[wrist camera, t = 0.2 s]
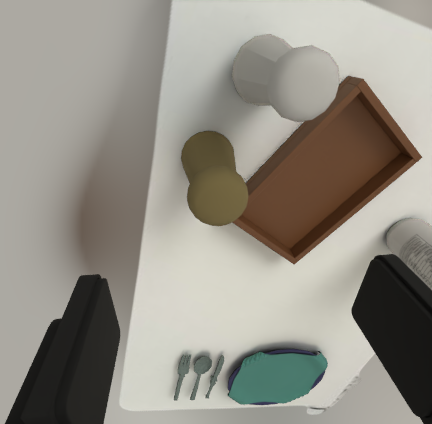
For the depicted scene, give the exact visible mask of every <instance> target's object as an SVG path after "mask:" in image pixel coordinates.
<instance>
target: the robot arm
mask: <svg viewBox="0 0 432 424" xmlns="http://www.w3.org/2000/svg"><path fill="white" fill-rule="evenodd" d="M352 316H353V318H354V320H355V321H356V323H357V324H358V326H359V328H360V329H361V331H362V332H363V334H364V336H365V337H366V339H367V340H368V342H369V344H370V345H371V347H372V348H373V350H374V352H375V353H376V355H377V356H378V358H379V359H380V361H381V362H382V364H383V366H384V367H385V369H386V371H387V372H388V374H389V375H390V377H391V379H392V380H393V382H394V383H395V385H396V386H397V388H398V390H399V391H400V393H401V395H402V396H403V398H404V399H405V401H406V402H407V404H408V406H409V407H410V409H411V410H412V412H413V413H414V414H415V415H416V416H418V417H420V418H421V420H422V422H423V423H424V424H432V290H431V289H430V288H429V287H428V286H427V285H426V284H425V283H424V282H423V281H422V280H421V279H420V278H419V277H418V276H417V275H416V274H415V273H414V272H413V271H412V270H411V269H410V268H409V267H408V266H407V265H406V264H405V263H404V262H403V261H402V260H401V259H400V258H399V257H398V256H396V255H394V254H389V255H377V256H376V257H375V258H374V260H372V261H371V262H370V264H369V267H368V269H367V272H366V274H365V277H364V279H363V282H362V284H361V287H360V289H359V292H358V294H357V297H356V299H355V302H354V304H353V306H352ZM119 341H120V328H119V324H118V320H117V316H116V313H115V309H114V305H113V301H112V297H111V294H110V290H109V286H108V282H107V279H105V278H103V279H102V278H101V276H100V275H99V274H97V275H83V276H80V277H79V279H78V281H77V284H76V286H75V288H74V291H73V293H72V295H71V298H70V301H69V302H68V305H67V307H66V310H65V312H64V315H63V317H62V319H56V320H53V322H51V324H50V326H49V327H48V329H47V332H46V334H45V336H44V338H43V341H42V343H41V345H40V347H39V349H38V352H37V354H36V356H35V358H34V360H33V363H32V365H31V367H30V369H29V371H28V374H27V376H26V378H25V380H24V383H23V385H22V387H21V389H20V392H19V394H18V396H17V398H16V400H15V403H14V405H13V407H12V409H11V411H10V414H9V416H8V418H7V420H6V423H5V424H103V423H104V418H105V413H106V407H107V402H108V396H109V392H110V387H111V382H112V377H113V371H114V367H115V361H116V356H117V351H118V346H119Z"/></svg>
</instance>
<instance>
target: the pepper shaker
mask: <svg viewBox="0 0 432 424" xmlns="http://www.w3.org/2000/svg"><path fill="white" fill-rule="evenodd" d="M181 160H182V164H183V168H184V170H185V173H186V175H187V178H188V180H189V183H190V185H189V187H188V194H187V201H188V205H189V208H190V210H191V211H192V213H193V214H194V216H195V217H196V218H197V219H199V220H200V221H201V222H203V223H206V224H209V225H212V226H222V225H227V224H229V223H231V222H233V221H235V220H236V219H237V218H238V217H239V216H241V215H242V213H243V212H244V210H245V208H246V206H247V202H248V189H247V186H246V184H245V182H244V180H243V178H242V177H241V176H240V175H239V174H238V173H237V172H236V166H235V158H234V151H233V147H232V145H231V143H230V141H229V140H228V139H227V138H226V137H225V136H224V135H222V134H219V133H217V132H213V131H204V132H199V133H197V134H195V135H194V136H192V137H190V139H189V140H188V141H187V142H186V143H185V145H184V147H183V150H182V155H181Z"/></svg>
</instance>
